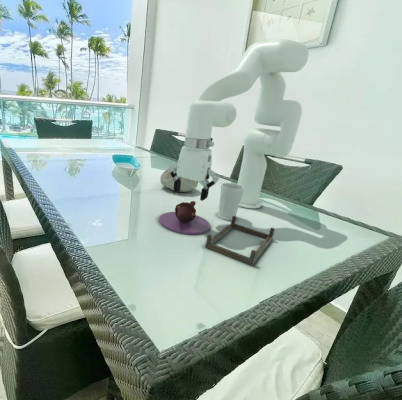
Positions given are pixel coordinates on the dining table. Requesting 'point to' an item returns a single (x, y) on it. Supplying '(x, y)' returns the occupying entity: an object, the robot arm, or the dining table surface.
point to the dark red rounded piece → (185, 211)
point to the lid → (184, 224)
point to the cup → (229, 200)
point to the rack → (235, 255)
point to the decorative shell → (185, 183)
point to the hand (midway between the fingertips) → (189, 195)
